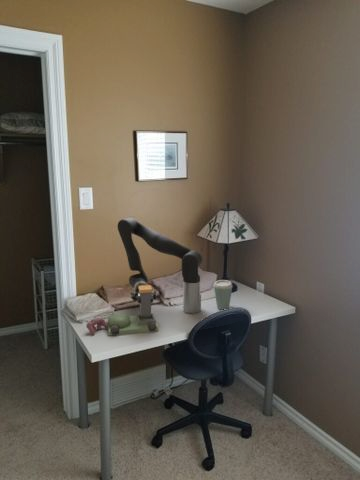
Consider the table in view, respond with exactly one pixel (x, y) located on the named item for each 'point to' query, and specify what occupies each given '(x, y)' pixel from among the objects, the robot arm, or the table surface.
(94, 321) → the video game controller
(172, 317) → the table surface
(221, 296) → the disposable coffee cup
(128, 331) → the toy lawn mower
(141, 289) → the orange-capped grey post
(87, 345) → the table surface
